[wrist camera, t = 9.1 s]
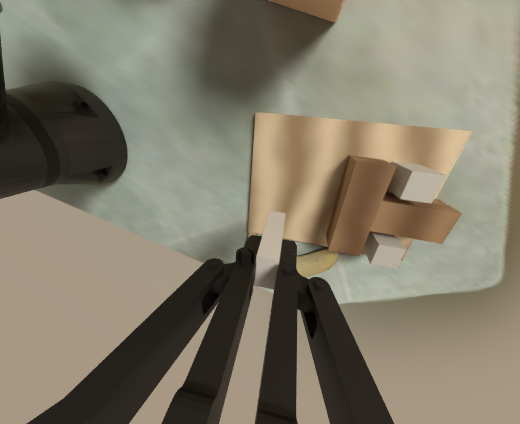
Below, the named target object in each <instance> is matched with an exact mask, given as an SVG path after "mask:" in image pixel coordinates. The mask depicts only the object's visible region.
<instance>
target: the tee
mask: <svg viewBox="0 0 520 424" xmlns="http://www.w3.org/2000/svg"><path fill="white" fill-rule="evenodd" d="M396 167H397V166H395V165H393V164H391V163H389V162H387V161H385V160H383V159H376V158H367V157H359V156H351V155H349V156H348V160H347V163H346V167H345V170H344V174H343V177H342V180H341V184H340V187H339V191H338V194H337V198H336V201H335V204H334V208H333V211H332V215H331V218H330V222H329V225H328V228H327V232H326V239H327V245H328V250H330V251H335V252H340V253H345V254H350V255H355V256H360V254H361V251H362V249H363V246H364V244H365V242H366V239H367V237H368V234H369V232H370V231H373V232H378V233H384V234H390V235H396V236H401V237H407V238H413V239H418V240H424V241H430V242H436V243H441V244H443V242H444V240H445V239H446V237H447V236H448V234H449V233H450V231H451V230H452V228H453V226H454V225H455V223H456V222H457V220H458V219H459V217H460V216H461V214H462V213H460V212H458V211H457V210H455V209H453V208H452V207H450V206H448V205H447V204H445V203H443V202H442V201H440V200H437V199H434V200H433V201H432V203H424V202H417V201H410V200H403V199H399V198H398V197H397V196H396V195H395V194H393V193H389V192H386V191H387V188H388V186H389V184H390V181H391V179H392V176H393V174H394V172H395V169H396Z"/></svg>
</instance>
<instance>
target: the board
mask: <svg viewBox="0 0 520 424" xmlns="http://www.w3.org/2000/svg"><path fill="white" fill-rule="evenodd" d="M471 133H472V131H461V130H450V129H439V128H427V127H416V126H405V125H394V124H383V123H372V122H360V121H349V120H338V119H327V118H316V117H305V116H293V115H282V114H271V113H260V112H256V113H255V129H254V145H253V161H252V176H251V192H250V208H249V224H248V232H253V233H258V234H263V232H264V229H265V226H266V222H267V219H268V216H269V212H270V211H276V212H282V213H286V215H285V223H284V230H283V238H284V239H290V240H295V241H300V242H305V243H311V244H316V245H321V246H326V247H328V245H327V239H326V232H327V228H328V225H329V222H330V218H331V215H332V211H333V208H334V204H335V201H336V198H337V194H338V191H339V187H340V184H341V180H342V177H343V174H344V170H345V167H346V163H347V160H348V156H349V155H351V156H359V157H367V158H376V159H383V160H385V161H387V162H389V163H392V161H393V162H401V163H410V164H418V165H422V166H424V167H427V168H429V169H432V170H434V171H437V172H439V173H442V174H445V175H447V176H446V177H445V179H444V181H443V183H442V185H441V187H440V189H439V190H438V192H437V194H436V196H435V198H434V199H436V197H437V195H438V194H439V192H440V190H441V188H442V186H443V184H444V183H445V181H446V179H447V177H448V175H449V173H450V172H451V170H452V168H453V166H454V164H455V162H456V161H457V159H458V157H459V155H460V153H461V151H462V149H463V148H464V146H465V144H466V142H467V140H468V138H469V137H470V135H471ZM386 192H389V193H392V192H391V191H390V190H389V189H387V191H386ZM395 236H396V235H395ZM396 237H397V238H398V240H399V241H400V242H401V243H402V245H403V246H404V247H405V249H406V251H405V253H404V255H403V257H402V259H401V261H402V260H403V258H404V256H405V254H406V252H407V250H408V249H409V247H410V245H411V243H412V241H413V238H407V237H401V236H396ZM361 253H363V254H366V253H365V250H364V248H363V249H362V251H361Z"/></svg>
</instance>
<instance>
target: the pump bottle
mask: <svg viewBox="0 0 520 424" xmlns="http://www.w3.org/2000/svg"><path fill="white" fill-rule="evenodd" d="M268 1H271V2H274V3H277V4H280V5H283V6H286V7H289V8H292V9H295V10H298V11H301V12H304V13H307V14H310V15H313V16H316V17H319V18H322V19H325V20H328V21H331V22H336V21H337V19H338V17H339V14H340V11H341V9H342V6H343V3H344V1H345V0H268Z"/></svg>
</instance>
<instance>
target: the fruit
mask: <svg viewBox="0 0 520 424" xmlns="http://www.w3.org/2000/svg"><path fill="white" fill-rule="evenodd" d="M251 235H256V233H253V232H248V238H249V237H250V236H251ZM256 236H257V235H256ZM337 258H338V252H335V251H330V250H328V249H324V250H319V251H316V252H313V253H310V254H307V255H302V256H297V263H296V268H297V271H298V273H299V274H300V275H302V276H303V277H306V276H312V275H315V274H319V273H321V272H324V271H326V270H329V269H330V268H331V267H332V266H333V265H334V264H335V262H336V260H337Z"/></svg>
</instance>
